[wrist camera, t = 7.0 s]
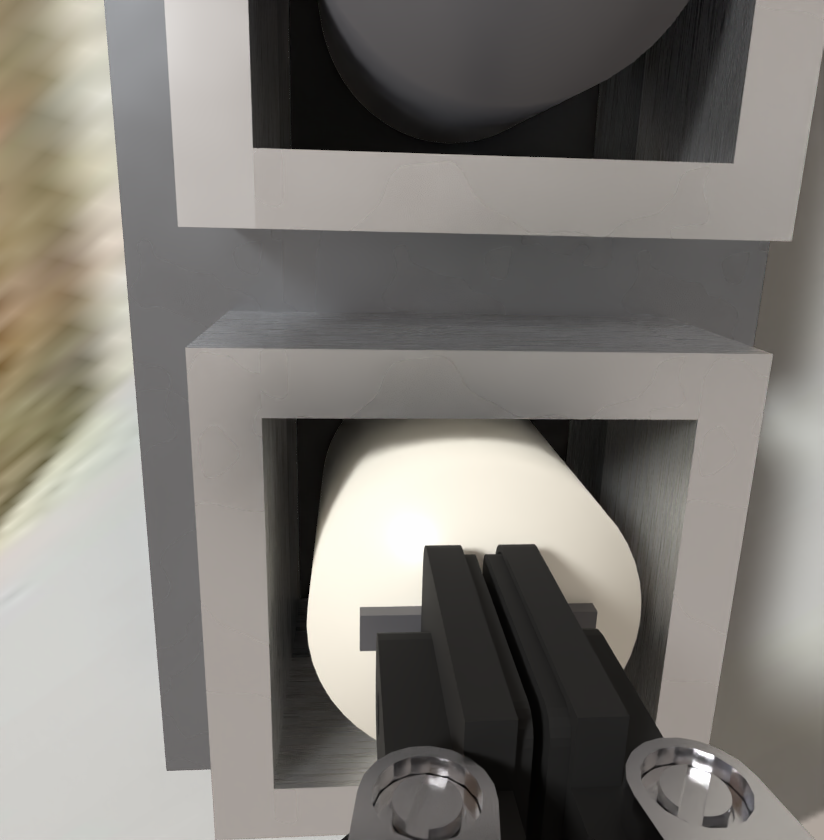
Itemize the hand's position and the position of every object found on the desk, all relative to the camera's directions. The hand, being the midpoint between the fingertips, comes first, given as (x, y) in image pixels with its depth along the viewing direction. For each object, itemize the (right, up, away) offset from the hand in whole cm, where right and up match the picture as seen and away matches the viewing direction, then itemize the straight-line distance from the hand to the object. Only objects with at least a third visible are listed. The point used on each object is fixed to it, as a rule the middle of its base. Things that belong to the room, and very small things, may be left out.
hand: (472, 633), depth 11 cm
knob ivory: (0, +2, +6) cm, 6 cm away
